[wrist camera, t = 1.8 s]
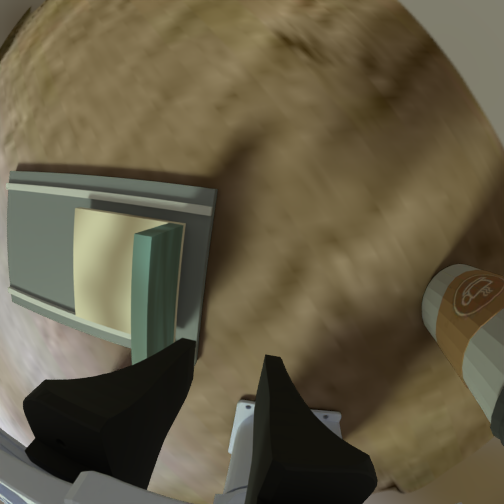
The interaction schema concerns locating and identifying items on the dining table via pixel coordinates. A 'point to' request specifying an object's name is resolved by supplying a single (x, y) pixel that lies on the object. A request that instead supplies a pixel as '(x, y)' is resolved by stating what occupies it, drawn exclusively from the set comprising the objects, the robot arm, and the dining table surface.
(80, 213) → the sliding tray
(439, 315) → the coffee cup
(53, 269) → the track board
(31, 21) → the dining table surface
